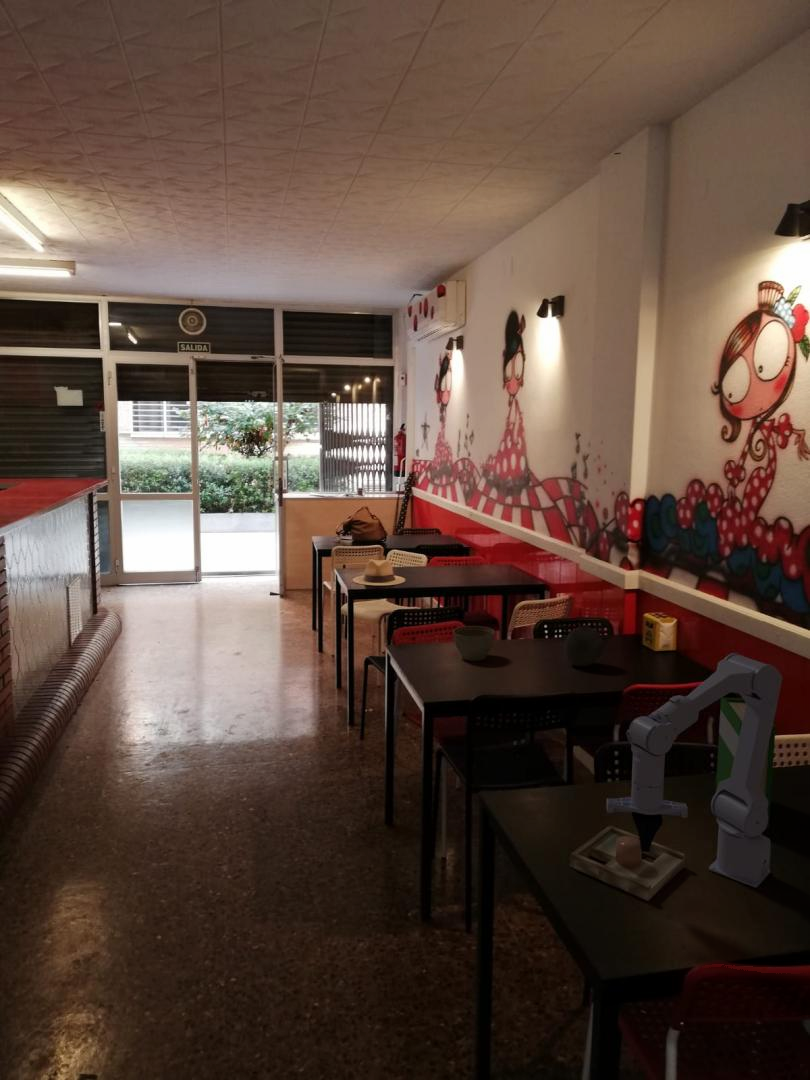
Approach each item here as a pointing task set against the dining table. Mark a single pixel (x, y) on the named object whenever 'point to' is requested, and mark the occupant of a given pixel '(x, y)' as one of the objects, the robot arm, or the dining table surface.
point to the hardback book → (728, 742)
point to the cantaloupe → (583, 646)
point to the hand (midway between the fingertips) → (644, 848)
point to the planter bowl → (473, 641)
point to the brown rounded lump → (628, 852)
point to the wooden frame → (631, 880)
